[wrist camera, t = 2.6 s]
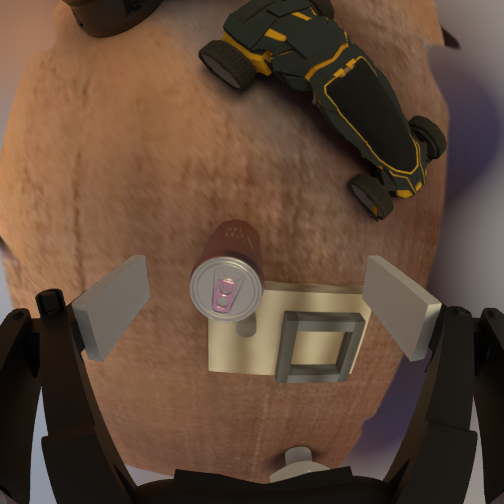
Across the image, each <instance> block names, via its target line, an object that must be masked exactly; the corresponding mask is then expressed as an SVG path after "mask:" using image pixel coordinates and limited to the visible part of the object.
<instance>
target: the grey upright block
mask: <svg viewBox="0 0 504 504" xmlns="http://www.w3.org/2000/svg"><path fill="white" fill-rule="evenodd" d="M285 461H286V467H284V468H282V469H280V470H278V471H276V472H275V473H274V474H272V475H271V476H270V483H272V482H277V481H280V480H284V479H288V478H292V477H295V476H298V475H302V474H305V473H308V472H315V471H323V470H329V468H327V467H326V466H323V465H321V464H318V463H315V462H312V457H311V451H310V449H309V448H307V447H294V448H291V449H289V450H288V451H286V453H285Z"/></svg>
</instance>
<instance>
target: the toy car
mask: <svg viewBox="0 0 504 504" xmlns="http://www.w3.org/2000/svg"><path fill="white" fill-rule="evenodd" d="M333 18H334V9H333V7H332V4H331V2H330V0H251V1H250V2H248V3H247V4H245V5H244V6H242V7H241V8H240V9H238V10H237V11H235V12H234V13H232V14H231V13H230V15H229V16H228V18H227V20H226V22H225V23H224V25H223V28H224V36H223V39H222V40H219V41H218V40H213V41H211V42H209V43H208V44H207V45H206V46H205V47H203V48H202V49H201V50H200V51H199V58H200V59H201V61H202V62H203V63H204V64H205V66H206V67H207V68H208V69H209V70H210V71H211V72H212V73H214V74H215V75H216V76H217V77H218V78H220V79H221V80H222V81H224V82H225V83H226V84H227V85H228V86H230V87H231V88H233V89H234V90H238V91H243V90H244V89H245V88H246V87H248V86H249V85H250V84H251V83H252V82H253V81H254V80H255V74H256V73H258V72H260V73H263V74H265V75H267V76H268V75H270V74H271V73H272V72H273V73H274V74H275V75H276V76H277V77H278V78H279V79H280V80H281V81H282V82H283V83H284V84H285V85H286V84H288V86H290V87H292V88H293V89H297V90H300V91H311V92H313V97H314V99H313V100H312V104H314V105H315V104H316V103H318V104H317V107H318V108H319V109H320V111H321V113H322V114H323V116H324V118H325V120H326V122H327V124H329V125H330V126H331V127H332V128H333V129H334V130H336V131H337V132H338V133H339V134H340V135H341V136H342V137H344V138H345V139H347V140H348V141H349V142H351V143H352V144H353V145H355V146H356V147H357V148H358V150H359V152H360V153H361V155H362V157H365V158H366V159H367V160H369V161H370V162H372V163H373V164H375V165H376V166H377V168H378V169H377V170H376V171H375V173H374V177H375V178H374V177H371V176H369V175H366V174H364V173H362V174H357V175H356V176H355V178H354V179H353V180H352V181H351V182H350V183H349V187H350V189H351V191H352V193H353V194H354V195H355V196H356V197H357V198H358V200H359V201H360V202H361V203H362V205H363V206H364V207H365V208H366V209H367V210H368V211H369V212H370V213H371V215H372V217H373V219H374V220H376V221H377V222H378V221H379V220H378V219H380V220H384V219H385V218H386V217H387V216H388V215H389V214H390V213H391V212H392V210H393V208H394V206H393V202H392V198H391V196H392V197H398V196H400V197H404V198H407V197H411V196H414V195H415V194H416V193H417V190H418V189H419V188H420V187H421V186H423V185H424V184H425V182H426V174H427V173H426V164H427V163H426V162H428V163H430V162H431V161H432V159H438V158H439V157H440V156H441V155H442V154H443V152H444V151H445V150H446V146H447V143H446V140H445V136H444V135H443V133H442V132H441V130H440V129H439V128H438V126H437V125H436V124H434V123H433V122H432V121H430V120H429V119H428V118H425V117H422V116H419V115H418V116H414V117H413V118H412V119H411V120H410V121H409V122H407V120H406V118H405V116H404V114H403V113H402V111H401V108H400V105H399V102H398V100H397V97H396V95H395V93H394V91H393V89H392V87H391V85H390V83H389V82H388V80H387V78H386V77H385V76H384V74H383V73H382V72H381V71H380V70H379V69H378V68H377V67H376V66H375V64H374V62H373V61H372V60H371V59H370V58H369V57H368V56H367V55H366V54H365V53H364V52H363V51H362V50H361V49H360V48H359V47H358V46H357V45H356V44H355V43H354V44H351V41H350V39H349V37H348V35H347V33H346V32H344V30H343V29H341V28H339V27H338V25H337V23H336V22H334V21H333Z"/></svg>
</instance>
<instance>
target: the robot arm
mask: <svg viewBox="0 0 504 504" xmlns="http://www.w3.org/2000/svg"><path fill="white" fill-rule="evenodd" d="M62 1H64V2H65V3H67V4H68V5H69V6H70V7H71V9H72V12H73V14H74V16H75V18H76V20H77V23H78V25H79V27H80V28H81V29H82V30H84V31H85V32H87V33H88V34H89V35H91V36H95V37H107V36H112V35H115V34H118V33H121V32H123V31H126V30H128V29H130V28H132V27H133V26H135V25H137V24H138V23H140V22H141V21H143V20H144V19H145V18H146V17H148V16H149V15H150V14H151V13H152V12H153V11H154V10H155V9H156V8H157V7H158V6H159V5H160V3H161V2H162V1H163V0H62ZM35 299H36V303H37V306H38V310H39V313H40V318H34V319H31V315H30V312H29V310H28V309H26V308H20V309H19V308H17V309H14V310H12V312H10V313H9V314H8V315H7V316H6V318H5V319H4V321H3V322H2V324H1V325H0V504H29V501H30V469H31V452H32V441H33V431H34V424H35V417H36V411H37V404H38V400H39V394H40V390H41V386H42V396H43V405H44V412H45V419H46V425H47V431H48V436H44V437H42V439H41V445H42V451H43V455H44V460H45V464H46V468H47V472H48V476H49V480H50V483H51V487H52V490H53V493H54V496H55V499H56V502H57V504H463V502H464V499H465V496H466V492H467V489H468V485H469V481H470V477H471V473H472V467H473V463H474V458H475V452H476V446H477V440H478V439H477V437H478V436H477V432H476V431H471V430H469V428H470V421H471V412H472V402H473V396H474V401H475V406H476V411H477V417H478V422H479V430H480V437H481V445H482V456H483V472H484V473H483V474H484V495H485V502H486V504H504V314H503V313H502V312H500V311H499V310H498V309H496V308H485V309H483V311H482V314H481V317H480V318H472V315H471V313H470V312H469V311H468V310H466V309H464V308H463V307H459V306H450V307H447V306H446V305H444V304H443V303H442V302H441V301H440V300H438V299H437V298H436V297H435V296H432V294H431V293H429V292H428V291H427V290H425V289H423V288H422V287H421V286H419V285H418V284H417V283H415V282H414V281H413V280H412V279H410V278H409V277H408V276H406V275H405V274H404V273H402V272H401V271H400V270H398V269H397V268H395V267H394V266H393V265H391V264H390V263H389V262H387V261H386V260H384V259H383V258H382V257H380V256H368V259H367V267H366V275H365V282H364V288H363V294H362V299H363V300H364V301H365V303H366V304H367V305H368V306H369V308H370V309H371V310H372V311H373V313H374V314H375V315H376V316H377V318H378V319H379V320H380V322H381V323H382V324H383V325H384V327H385V328H386V329H387V331H388V332H389V333H390V334H391V336H392V337H393V338H394V340H395V341H396V342H397V344H398V345H399V346H400V348H401V349H402V350H403V352H404V353H405V354H406V356H407V357H408V359H409V360H410V361H415V360H420V359H424V357H425V354H426V352H427V349H428V347H429V348H430V349H431V351H432V354H431V357H430V360H429V362H428V364H427V367H426V369H425V373H426V375H425V379H424V382H423V386H422V389H421V392H420V396H419V398H418V402H417V404H416V407H415V410H414V413H413V416H412V419H411V421H410V424H409V427H408V429H407V431H406V434H405V437H404V439H403V441H402V443H401V446H400V448H399V450H398V452H397V455H396V457H395V459H394V461H393V463H392V465H391V467H390V469H389V471H388V473H387V475H386V476H385V478H384V479H383V481H381V480H378V479H375V478H369V477H363V476H353V475H352V471H351V468H350V466H348V467H342V468H336V469H329V470H323V471H315V472H308V473H305V474H302V475H298V476H295V477H292V478H288V479H284V480H280V481H277V482H272V483H268V484H259V483H254V482H249V481H245V480H240V479H236V478H232V477H228V476H224V475H221V474H214V473H203V472H194V471H186V470H179V469H176V470H175V475H174V479H166V480H158V481H154V482H149V483H146V484H143V485H140V486H138V487H137V485H136V484H135V482H134V481H133V479H132V478H131V476H130V474H129V472H128V471H127V469H126V467H125V465H124V463H123V461H122V459H121V457H120V455H119V453H118V451H117V449H116V447H115V445H114V443H113V441H112V438H111V436H110V434H109V432H108V429H107V427H106V425H105V422H104V420H103V417H102V415H101V412H100V410H99V407H98V404H97V401H96V399H95V396H94V393H93V390H92V387H91V384H90V381H89V378H88V375H87V371H86V368H85V364H84V361H83V358H82V355H81V352H82V351H83V350H84V348H85V350H86V353H87V355H88V358H89V359H91V360H96V361H101V362H103V361H104V359H105V358H106V356H107V355H108V354H109V352H110V351H111V349H112V348H113V347H114V345H115V344H116V343H117V341H118V340H119V338H120V337H121V336H122V334H123V333H124V332H125V330H126V329H127V328H128V326H129V325H130V324H131V322H132V321H133V320H134V318H135V317H136V316H137V314H138V313H139V312H140V310H141V309H142V308H143V307H144V305H145V304H146V303H147V301H148V300H149V299H150V292H149V285H148V278H147V270H146V262H145V255H133V256H131V257H130V258H129V259H127V260H126V261H124V262H123V263H122V264H120V265H119V266H118V267H116V268H115V269H114V270H112V271H111V272H110V273H109V274H107V275H106V276H105V277H103V278H102V279H101V280H99V281H98V282H97V283H96V284H94V285H93V286H92V287H91V288H89V289H88V290H86V291H84V292H83V293H82V294H81V295H80V296H78V297H77V298H76V300H73V301H72V302H71V303H70V304H68V305H67V306H66V305H65V301H64V297H63V293H62V291H61V290H60V289H48V290H45V291H42V292H40V293H39V294H37V295H36V297H35Z"/></svg>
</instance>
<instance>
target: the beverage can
mask: <svg viewBox="0 0 504 504" xmlns="http://www.w3.org/2000/svg"><path fill="white" fill-rule="evenodd" d="M189 289H190V296H191V299H192V301H193V303H194V305H195V307H196V308H197V309H198V310H199V311H200V312H201V313H202V314H203V315H204V316H206V317H208V318H209V319H212V320H214V321H217V322H222V323H232V322H237V321H241V320H243V319H245V318H247V317H248V316H250V315H251V314H252V313H253V312H254V311H255V310H256V309H257V307H258V305H259V303H260V301H261V298H262V295H263V292H264V277H263V267H262V256H261V246H260V238H259V235H258V233H257V231H256V230H255V228H254V227H253V226H251V225H250V224H249V223H247V222H245V221H241V220H231V221H227V222H225V223H223V224H222V225H221V226H219V227H218V229H217V230H216V232H215V233H214V235H213V236H212V238H211V240H210V241H209V243H208V245H207V246H206V248H205V249H204V251H203V253H202V254H201V256H200V258H199V259H198V261H197V263H196V264H195V266H194V268H193V270H192V273H191V276H190V287H189Z"/></svg>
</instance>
